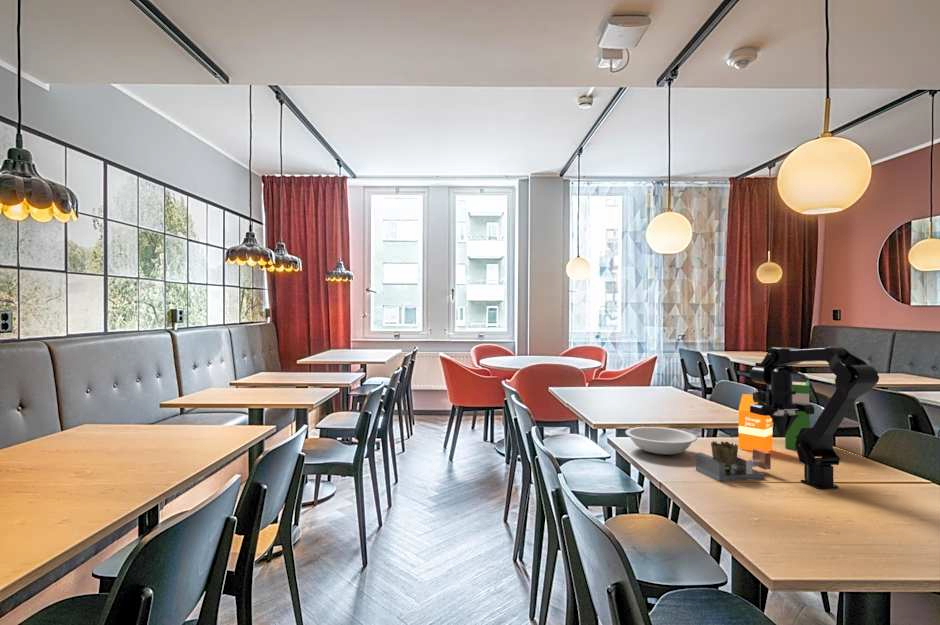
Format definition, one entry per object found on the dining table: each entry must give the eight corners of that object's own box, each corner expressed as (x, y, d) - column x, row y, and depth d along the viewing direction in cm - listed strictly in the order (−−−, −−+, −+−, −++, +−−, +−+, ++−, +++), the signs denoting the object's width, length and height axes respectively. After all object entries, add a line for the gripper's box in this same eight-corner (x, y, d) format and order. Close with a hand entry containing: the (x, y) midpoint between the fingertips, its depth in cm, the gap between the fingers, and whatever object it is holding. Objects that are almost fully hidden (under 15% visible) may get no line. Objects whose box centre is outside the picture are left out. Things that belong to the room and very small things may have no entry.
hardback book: (787, 439, 192) (786, 379, 193) (809, 441, 188) (809, 380, 189) (785, 448, 178) (784, 384, 178) (809, 451, 174) (809, 385, 174)
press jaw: (778, 472, 145) (778, 455, 145) (746, 474, 143) (746, 457, 143) (751, 461, 155) (751, 446, 155) (720, 463, 153) (720, 447, 154)
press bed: (764, 478, 144) (763, 460, 144) (719, 481, 141) (719, 462, 141) (737, 467, 154) (737, 450, 155) (695, 470, 152) (695, 452, 152)
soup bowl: (637, 461, 161) (637, 442, 161) (617, 443, 185) (617, 426, 185) (709, 462, 160) (709, 442, 160) (680, 444, 184) (680, 427, 184)
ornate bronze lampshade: (732, 466, 151) (732, 441, 151) (742, 474, 143) (742, 447, 144) (707, 465, 152) (707, 440, 152) (716, 473, 144) (716, 446, 144)
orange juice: (746, 445, 182) (746, 392, 183) (772, 450, 176) (772, 395, 176) (738, 448, 177) (738, 394, 178) (764, 454, 171) (764, 397, 171)
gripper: (786, 382, 161) (786, 429, 161) (737, 384, 158) (737, 431, 158) (815, 387, 150) (816, 437, 150) (763, 388, 147) (763, 439, 147)
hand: (782, 436), depth 151 cm, fingers closed
